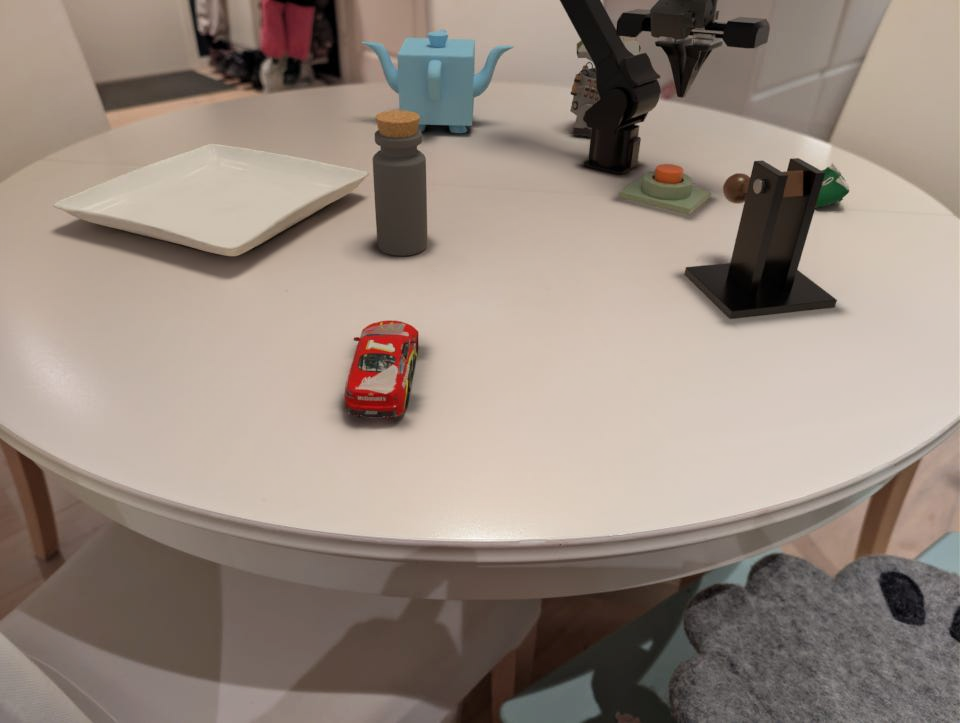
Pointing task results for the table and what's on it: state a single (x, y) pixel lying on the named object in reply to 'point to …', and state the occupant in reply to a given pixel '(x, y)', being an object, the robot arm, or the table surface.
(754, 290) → the bracket
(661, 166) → the button
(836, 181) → the green carton
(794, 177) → the lever
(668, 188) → the button block
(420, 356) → the table surface
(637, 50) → the figurine
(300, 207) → the square plate
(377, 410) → the race car
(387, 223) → the bottle
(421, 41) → the teakettle
